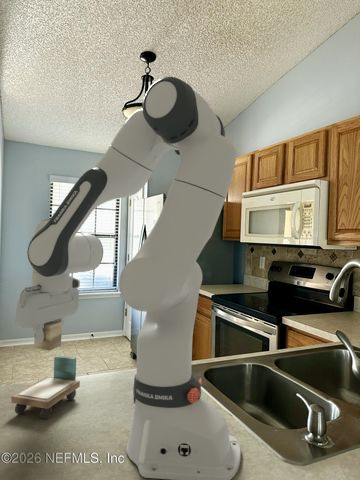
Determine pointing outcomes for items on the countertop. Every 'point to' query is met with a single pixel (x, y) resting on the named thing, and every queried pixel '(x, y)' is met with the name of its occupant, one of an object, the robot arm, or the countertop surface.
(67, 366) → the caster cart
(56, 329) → the maple block
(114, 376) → the countertop surface
